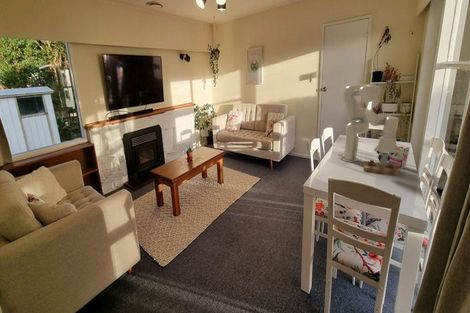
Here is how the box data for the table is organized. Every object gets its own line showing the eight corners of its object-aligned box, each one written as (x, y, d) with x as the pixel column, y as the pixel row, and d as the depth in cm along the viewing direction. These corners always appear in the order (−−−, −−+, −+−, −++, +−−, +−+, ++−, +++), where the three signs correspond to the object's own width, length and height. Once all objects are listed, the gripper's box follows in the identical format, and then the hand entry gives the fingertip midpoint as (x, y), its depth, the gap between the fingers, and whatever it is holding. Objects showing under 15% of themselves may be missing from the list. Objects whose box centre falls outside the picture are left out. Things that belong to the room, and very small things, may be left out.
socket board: (363, 171, 182) (364, 165, 180) (363, 164, 194) (363, 159, 192) (398, 175, 173) (399, 169, 171) (395, 168, 185) (396, 162, 183)
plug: (379, 164, 170) (381, 153, 167) (379, 162, 173) (381, 151, 170) (386, 165, 168) (388, 154, 165) (385, 163, 171) (387, 152, 168)
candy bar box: (405, 167, 184) (410, 147, 179) (400, 169, 183) (405, 148, 177) (391, 162, 194) (395, 143, 189) (387, 163, 193) (391, 144, 187)
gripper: (374, 135, 163) (370, 160, 170) (404, 138, 156) (398, 164, 163) (374, 132, 169) (369, 157, 176) (402, 134, 163) (396, 160, 169)
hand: (383, 160), depth 170 cm, fingers closed on plug, 4 cm apart
